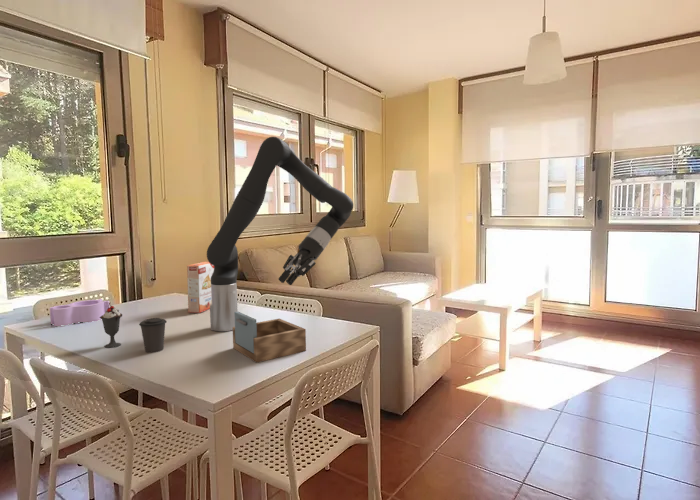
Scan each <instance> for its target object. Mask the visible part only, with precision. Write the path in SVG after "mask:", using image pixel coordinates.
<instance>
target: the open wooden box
mask: <svg viewBox="0 0 700 500" xmlns="http://www.w3.org/2000/svg"><path fill="white" fill-rule="evenodd" d="M256 325H257V338H254V353H252V352H250V351H249V350H247V349H245V348H244V347H242V346H240V345H239V344H237V343H235V327H233V330H232V344H233V345H232V349H233V350H236V351H237V352H239V354H240V353H241V354H242V355H243V356H245V357H247V358H249V359H250V360H252V361H254V362H255V363H261V362H265V361H269V360H273V359H277V358H282V357H285V356H291V355H294V354H298V353H302V352H306V351H307V339H306V338H307V335H306V333H307V331H306V330H307V329H306V328H303V327H302V326H299V325H296V324H294V323H292V322H289V321H287V320H284V319H282V318H275V319H270V320H264V321H260V322H259V321H258V322H257V321H256Z"/></svg>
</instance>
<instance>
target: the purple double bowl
mask: <svg viewBox="0 0 700 500" xmlns="http://www.w3.org/2000/svg"><path fill="white" fill-rule="evenodd" d="M109 303H110V300H103V298H99V299H88V300H77V301H74V302H71V303H68V304H62V305H61V304H60V305H55V306H51V307H49V318H50V320H49V321H50V325H51V324H54V325H53V326H60V327H62V326H61V325H68V324H72V323H76V324H79V323H78V322H88V323H93V322H92V321H94V322H99V321H102V320H101V318H99V317H101V316H102V315H104V314H105V312H106V310H107V309H108V306H109V308H110V307H111V306H110V305H111V304H109ZM98 320H99V321H98ZM72 325H73V324H72ZM68 326H69V325H68Z"/></svg>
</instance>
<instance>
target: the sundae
mask: <svg viewBox="0 0 700 500" xmlns="http://www.w3.org/2000/svg"><path fill="white" fill-rule="evenodd" d="M109 305H110V308H109V306H108V309H107V310H106V312H105V314H104V315H102V316H101V317H99V318H101V319H102V320H101V321H102V326H103V331H104V333H105V334H107V335H109V338H110V341H109V342H108V343H107V344H105V345H104V348H106V349H110V348H114V349H115V348H118V347H119V346H122V343H121V342H116V340H115V335H117V334H118V332H119V330H120V321H121V318H122V317H123V314H122V313H120V310H119V309H118V308H116V307H115V306H113V305H111V302H109Z"/></svg>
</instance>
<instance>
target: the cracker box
mask: <svg viewBox="0 0 700 500" xmlns="http://www.w3.org/2000/svg"><path fill="white" fill-rule="evenodd" d="M213 272H214V265H212V264H210V263H209V261H201V262H198V263H197V262H196V263H192V264H187V265H186V275H187V278H186V279H187V301H188V302H187V305H188V308H187V309H188V310H187V311H188V314H189V313H191V314H192V313H193V314H201V313H203V312H205V311H208V310H210V305H211V304H212V298H211V276H212V274H213Z"/></svg>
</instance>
